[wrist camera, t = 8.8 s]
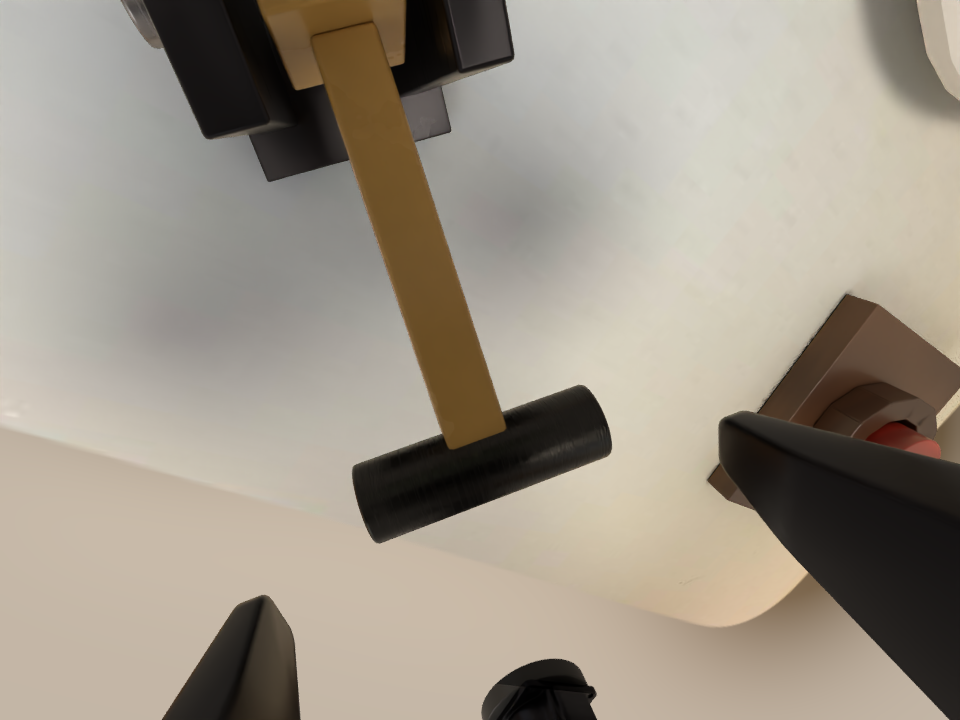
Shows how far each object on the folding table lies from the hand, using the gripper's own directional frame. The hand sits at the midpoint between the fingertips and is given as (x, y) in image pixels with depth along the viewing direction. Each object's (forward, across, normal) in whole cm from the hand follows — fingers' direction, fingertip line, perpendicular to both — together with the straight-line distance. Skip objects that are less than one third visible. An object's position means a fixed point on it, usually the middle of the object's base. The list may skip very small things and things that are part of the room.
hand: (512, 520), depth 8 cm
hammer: (+5, 0, -4) cm, 6 cm away
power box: (+13, -21, +15) cm, 29 cm away
